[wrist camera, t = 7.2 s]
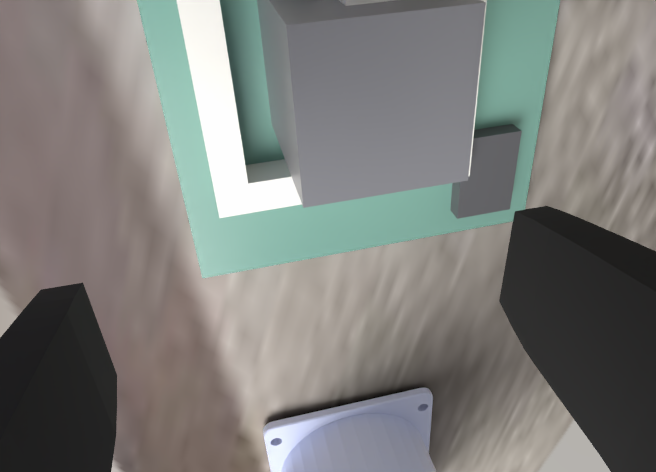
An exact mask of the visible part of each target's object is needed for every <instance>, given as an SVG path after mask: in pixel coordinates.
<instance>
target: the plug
mask: <svg viewBox="0 0 656 472" xmlns="http://www.w3.org/2000/svg"><path fill="white" fill-rule="evenodd" d="M257 5H258V14H259V22H260V30H261V39H262V47H263V56H264V64H265V72H266V81H267V89H268V98H269V106H270V114H271V123H272V126H273V129H274V132H275V134H276V137H277V140H278V142H279V145H280V148H281V150H282V153H283V155H284V158H285V161H286V163H287V166H288V169H289V171H290V174H291V177H292V179H293V182H294V185H295V187H296V190H297V192H298V195H299V198H300V200H301V203H302V206H303V208H306V207H312V206H318V205H324V204H330V203H336V202H342V201H348V200H354V199H360V198H366V197H372V196H378V195H384V194H390V193H396V192H402V191H408V190H414V189H420V188H426V187H432V186H438V185H444V184H450V183H456V182H462V181H468V175H469V165H470V155H471V145H472V135H473V125H474V115H475V105H476V95H477V85H478V75H479V65H480V55H481V45H482V35H483V25H484V15H485V5H486V2H484V1H481V0H257Z"/></svg>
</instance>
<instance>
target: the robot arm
mask: <svg viewBox="0 0 656 472" xmlns="http://www.w3.org/2000/svg"><path fill="white" fill-rule="evenodd" d="M500 303H501V305H502V307H503V309H504V311H505V313H506V315H507V317H508V319H509V321H510V323H511V325H512V327H513V329H514V331H515V333H516V335H517V337H518V338H519V340H520V342H521V344H522V346H523V348H524V349H525V351H526V352H527V354H528V355H529V356H530V358H531V359H532V361H533V362H534V364H535V365H536V367H537V368H538V369H539V371H540V372H541V374H542V375H543V376H544V378H545V379H546V381H547V382H548V384H549V385H550V386H551V388H552V389H553V391H554V392H555V393H556V395H557V396H558V397H559V399H560V400H561V402H562V403H563V404H564V406H565V407H566V409H567V410H568V411H569V413H570V414H571V415H572V417H573V418H574V420H575V421H576V422H577V424H578V425H579V427H580V428H581V429H582V431H583V432H584V433H585V435H586V436H587V438H588V439H589V440H590V442H591V443H592V445H593V446H594V447H595V449H596V450H597V452H598V453H599V454H600V456H601V457H602V459H603V460H604V462H605V463H606V465H607V466H608V468H609V469H610V471H611V472H656V251H654V250H651V249H649V248H647V247H644V246H642V245H640V244H638V243H635V242H633V241H631V240H628V239H626V238H624V237H622V236H619V235H617V234H615V233H613V232H610V231H608V230H606V229H604V228H601V227H599V226H597V225H594V224H592V223H590V222H587V221H585V220H583V219H580V218H578V217H575V216H573V215H570V214H568V213H565V212H563V211H560V210H557V209H554V208H551V207H548V206H544V207H538V208H532V209H526V210H520V211H515V213H514V219H513V225H512V231H511V237H510V242H509V248H508V254H507V260H506V266H505V272H504V277H503V283H502V289H501V295H500ZM432 405H433V395H432V393H431V391H430V390H429V389H428V388H425V387H423V388H417V389H413V390H409V391H404V392H400V393H395V394H391V395H387V396H382V397H378V398H373V399H369V400H365V401H360V402H356V403H351V404H347V405H343V406H338V407H334V408H329V409H325V410H321V411H316V412H312V413H307V414H303V415H299V416H294V417H290V418H285V419H281V420H277V421H272V422H270V423H268V424H267V425H265V427H264V428H263V434H264V440H265V445H266V450H267V455H268V460H269V465H270V470H271V472H436V469H435V467H434V465H433V462H432V460H431V458H430V455H429V444H430V431H431V418H432ZM116 416H117V374H116V371H115V369H114V366H113V363H112V361H111V358H110V355H109V352H108V350H107V347H106V344H105V342H104V339H103V336H102V333H101V331H100V328H99V325H98V323H97V320H96V317H95V314H94V312H93V309H92V306H91V304H90V301H89V298H88V295H87V293H86V290H85V287H84V285H83V283H79V284H73V285H67V286H61V287H55V288H49V289H43V290H40V292H39V293H38V294H37V295H36V296H35V297H34V298H33V299H32V301H31V302H30V303H29V304H28V305H27V306H26V308H25V309H24V310H23V311H22V312H21V314H20V315H19V316H18V317H17V318H16V320H15V321H14V322H13V323H12V325H11V326H10V327H9V329H7V331H6V332H5V333H4V334H3V335H2V337H1V338H0V472H111V468H112V460H113V453H114V446H115V438H116Z"/></svg>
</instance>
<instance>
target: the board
mask: <svg viewBox="0 0 656 472" xmlns="http://www.w3.org/2000/svg"><path fill="white" fill-rule="evenodd" d="M481 1H484V2H486V5H485V15H484V25H483V35H482V45H481V55H480V65H479V75H478V85H477V95H476V105H475V115H474V125H473V135H472V145H471V155H470V165H469V175H468V181H462V182H456V183H450V184H444V185H438V186H432V187H426V188H420V189H414V190H408V191H402V192H396V193H390V194H384V195H378V196H372V197H366V198H360V199H354V200H348V201H342V202H336V203H330V204H324V205H318V206H312V207H306V208H303V206H302V203H301V200H300V198H299V195H298V192H297V190H296V187H295V185H294V182H293V179H292V177H291V174H290V171H289V169H288V166H287V163H286V161H285V158H284V155H283V153H282V150H281V148H280V145H279V142H278V140H277V137H276V134H275V132H274V129H273V126H272V123H271V114H270V106H269V98H268V89H267V81H266V72H265V64H264V56H263V47H262V39H261V30H260V22H259V14H258V5H257V0H137V3H138V7H139V11H140V15H141V19H142V24H143V28H144V32H145V36H146V41H147V45H148V49H149V53H150V58H151V62H152V66H153V70H154V75H155V79H156V83H157V87H158V92H159V96H160V100H161V104H162V109H163V113H164V117H165V121H166V126H167V130H168V134H169V138H170V143H171V147H172V151H173V155H174V159H175V164H176V168H177V172H178V176H179V181H180V185H181V189H182V193H183V198H184V202H185V206H186V210H187V215H188V219H189V223H190V227H191V232H192V236H193V240H194V244H195V249H196V253H197V257H198V261H199V266H200V270H201V274H202V278H207V277H213V276H218V275H224V274H229V273H235V272H240V271H245V270H251V269H256V268H262V267H267V266H273V265H278V264H284V263H289V262H294V261H300V260H305V259H311V258H316V257H322V256H327V255H332V254H338V253H343V252H349V251H354V250H360V249H365V248H371V247H376V246H381V245H387V244H392V243H398V242H403V241H409V240H414V239H420V238H425V237H430V236H436V235H441V234H447V233H452V232H458V231H463V230H468V229H474V228H479V227H485V226H490V225H496V224H501V223H507V222H512V221H513V219H514V213H515V211H520V210H525V206H526V200H527V194H528V188H529V182H530V176H531V170H532V165H533V159H534V153H535V147H536V141H537V135H538V129H539V123H540V117H541V111H542V105H543V99H544V93H545V87H546V82H547V76H548V70H549V64H550V58H551V52H552V46H553V40H554V34H555V28H556V22H557V16H558V10H559V4H560V0H481Z"/></svg>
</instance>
